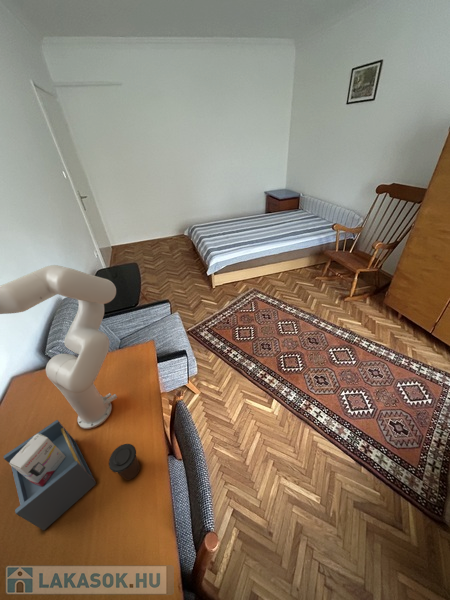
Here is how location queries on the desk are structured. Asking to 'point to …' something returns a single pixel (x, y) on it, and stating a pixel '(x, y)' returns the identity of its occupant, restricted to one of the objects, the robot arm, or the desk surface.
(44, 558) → the desk surface
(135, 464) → the coffee cup
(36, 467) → the ink box
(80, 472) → the shelf
